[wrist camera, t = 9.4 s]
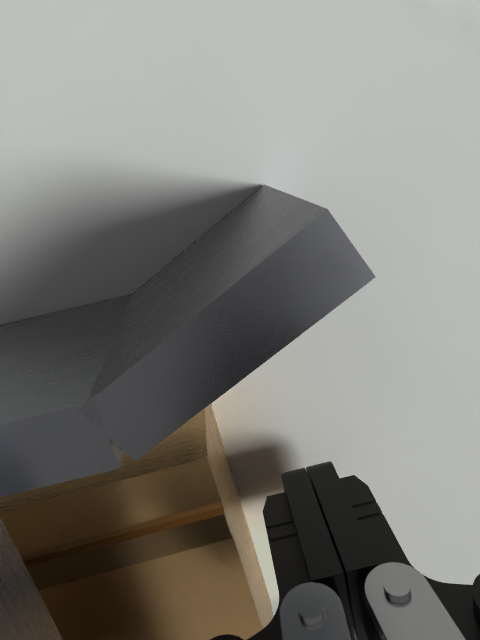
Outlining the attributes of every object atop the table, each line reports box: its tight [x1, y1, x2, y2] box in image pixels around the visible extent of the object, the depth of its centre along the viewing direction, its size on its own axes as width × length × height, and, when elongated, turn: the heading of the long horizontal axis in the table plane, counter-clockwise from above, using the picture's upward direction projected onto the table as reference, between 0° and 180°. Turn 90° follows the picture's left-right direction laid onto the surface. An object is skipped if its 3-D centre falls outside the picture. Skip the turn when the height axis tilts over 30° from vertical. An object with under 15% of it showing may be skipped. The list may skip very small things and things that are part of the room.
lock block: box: [0, 404, 273, 640], centre depth 13 cm, size 8×9×4 cm
